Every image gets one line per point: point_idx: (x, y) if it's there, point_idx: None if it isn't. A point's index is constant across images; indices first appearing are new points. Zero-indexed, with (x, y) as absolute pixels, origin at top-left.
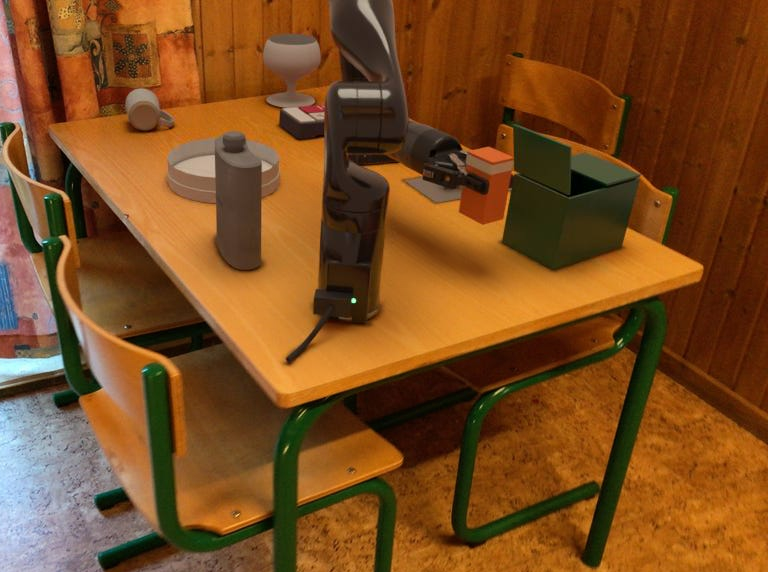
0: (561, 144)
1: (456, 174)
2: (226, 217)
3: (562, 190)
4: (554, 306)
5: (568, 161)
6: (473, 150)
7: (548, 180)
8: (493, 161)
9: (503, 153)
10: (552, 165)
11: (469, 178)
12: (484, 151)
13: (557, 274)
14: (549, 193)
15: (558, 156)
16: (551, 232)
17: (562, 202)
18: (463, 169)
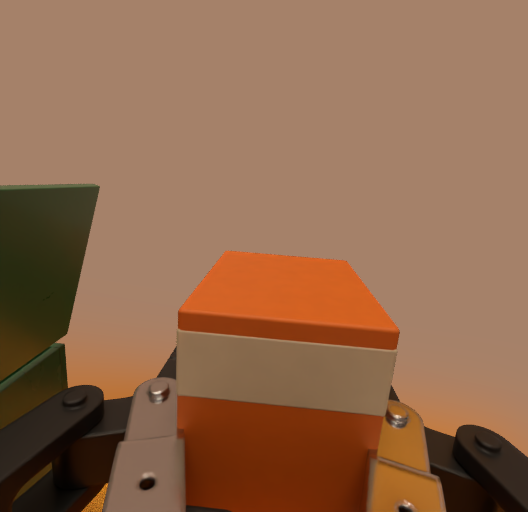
0: (79, 188)
1: (474, 429)
2: None
3: (52, 339)
4: None
5: (88, 233)
6: (347, 319)
7: (5, 359)
8: (338, 260)
9: (221, 265)
10: (31, 288)
11: (395, 397)
12: (289, 293)
13: (96, 501)
14: (6, 398)
15: (62, 237)
16: (49, 470)
17: (53, 369)
18: (398, 443)
